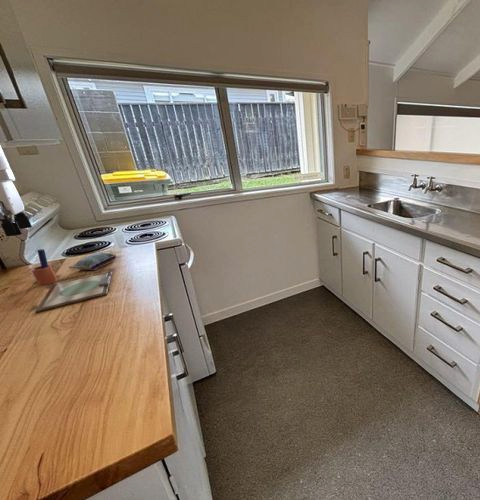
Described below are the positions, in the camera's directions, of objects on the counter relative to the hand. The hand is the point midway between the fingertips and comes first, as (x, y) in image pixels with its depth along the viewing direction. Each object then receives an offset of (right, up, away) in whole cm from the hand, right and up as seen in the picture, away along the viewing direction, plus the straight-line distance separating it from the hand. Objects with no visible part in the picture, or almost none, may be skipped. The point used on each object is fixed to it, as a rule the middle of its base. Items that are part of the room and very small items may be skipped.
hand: (20, 231), depth 90 cm
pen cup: (+1, -17, +7) cm, 19 cm away
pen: (+1, -17, +7) cm, 18 cm away
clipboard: (+17, -19, +2) cm, 26 cm away
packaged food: (+7, -13, +19) cm, 24 cm away
